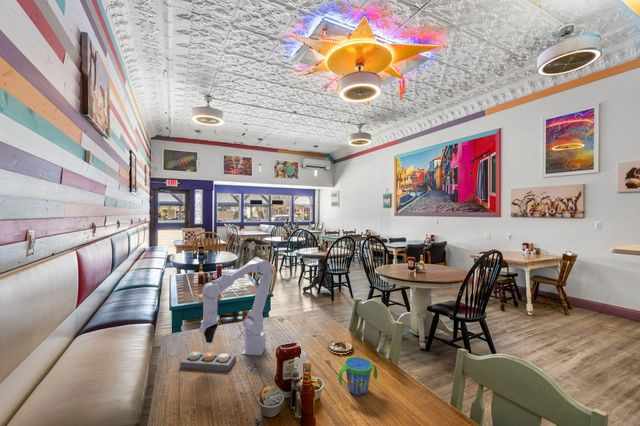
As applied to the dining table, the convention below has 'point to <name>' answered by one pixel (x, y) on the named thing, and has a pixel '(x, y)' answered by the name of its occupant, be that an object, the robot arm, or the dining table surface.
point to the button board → (208, 363)
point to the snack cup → (357, 374)
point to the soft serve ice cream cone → (300, 361)
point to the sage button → (194, 356)
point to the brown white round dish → (340, 346)
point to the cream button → (223, 358)
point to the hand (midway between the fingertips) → (209, 342)
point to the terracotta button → (209, 357)
